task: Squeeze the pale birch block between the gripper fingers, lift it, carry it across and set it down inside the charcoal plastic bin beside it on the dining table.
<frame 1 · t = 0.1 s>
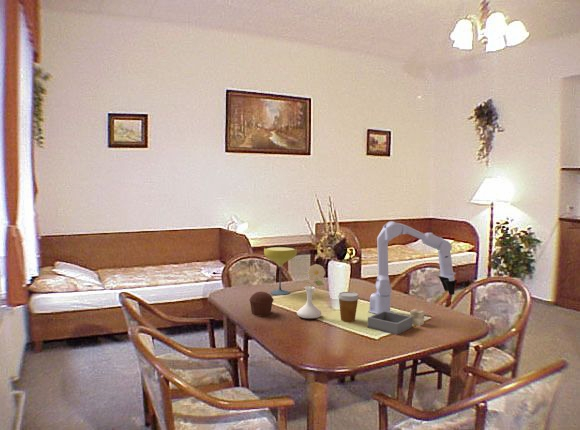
hand: (449, 292, 229), 10 cm above the table, tool pointing down, fingers open, 7 cm apart
flower in vase: (310, 317, 222), on the table
disposable coffee cup: (347, 320, 218), on the table
birch block: (416, 324, 214), on the table
muffin: (261, 313, 227), on the table
cocktail glass: (279, 293, 267), on the table
charcoal bin: (390, 327, 209), on the table
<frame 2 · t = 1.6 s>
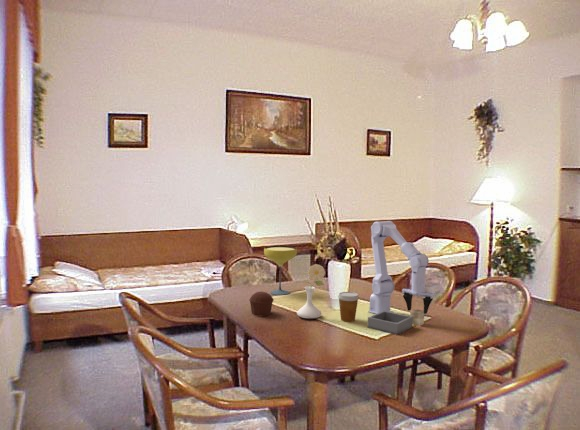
hand: (417, 311, 214), 6 cm above the table, tool pointing down, fingers open, 7 cm apart
nothing on the table moved.
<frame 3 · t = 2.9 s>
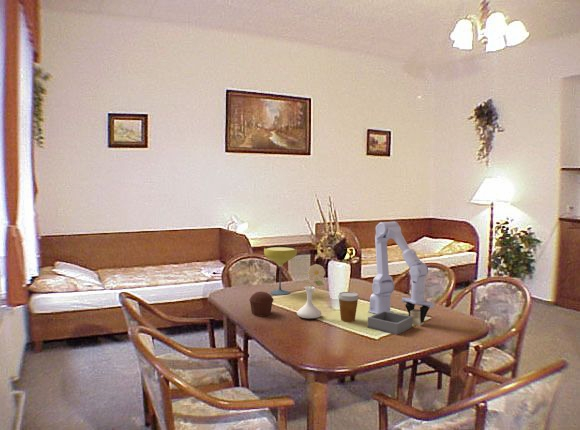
hand: (416, 320, 214), 1 cm above the table, tool pointing down, fingers closed on birch block, 4 cm apart
birch block: (416, 324, 214), on the table, touching gripper
everything else where it was.
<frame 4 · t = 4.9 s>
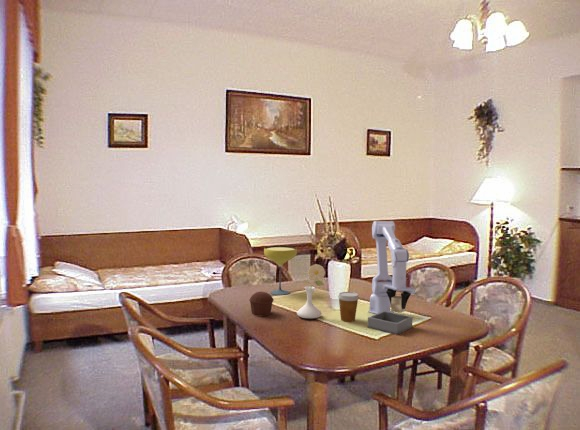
hand: (398, 307, 209), 8 cm above the table, tool pointing down, fingers closed on birch block, 4 cm apart
birch block: (398, 310, 210), point 7 cm above the table, touching gripper
everything else where it was.
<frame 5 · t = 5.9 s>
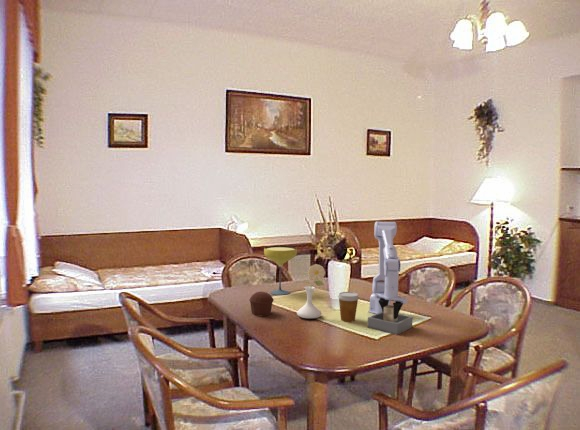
hand: (390, 317, 208), 5 cm above the table, tool pointing down, fingers closed on birch block, 4 cm apart
birch block: (390, 320, 208), point 3 cm above the table, touching gripper
everything else where it was.
when the fingers open (4 cm above the table, at t = 6.9 s): birch block drops 2 cm, resting on charcoal bin.
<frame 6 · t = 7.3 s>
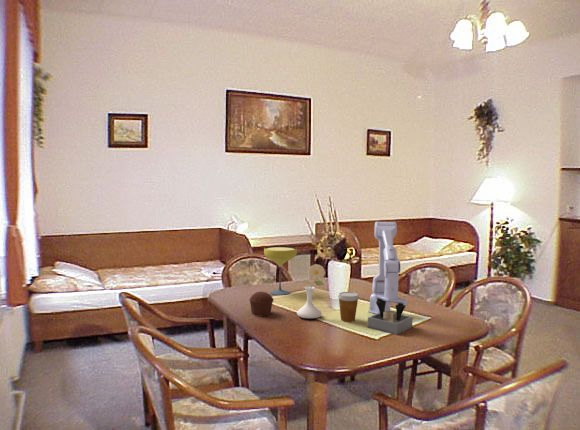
hand: (390, 318, 208), 4 cm above the table, tool pointing down, fingers open, 7 cm apart
birch block: (390, 325, 209), point 1 cm above the table, touching charcoal bin
everything else where it was.
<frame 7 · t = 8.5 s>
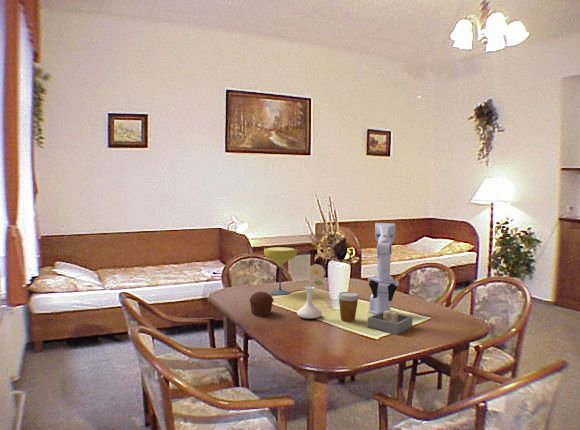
hand: (382, 299, 215), 10 cm above the table, tool pointing down, fingers open, 7 cm apart
nothing on the table moved.
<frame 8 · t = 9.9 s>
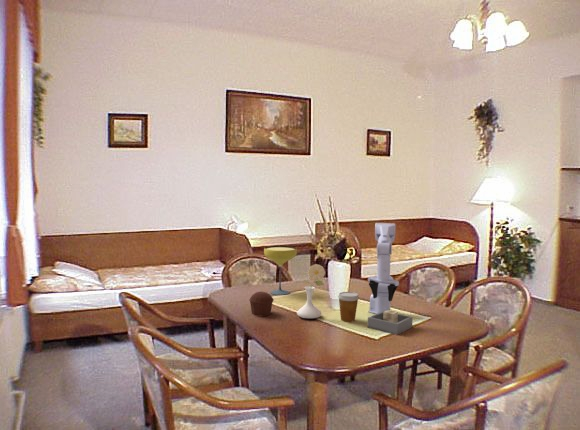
hand: (382, 299, 215), 10 cm above the table, tool pointing down, fingers open, 7 cm apart
nothing on the table moved.
at the end: birch block inside the target area on the charcoal bin (0.1 cm from its centre), point 0.8 cm above the charcoal bin's base; birch block tilted 0°; the gripper is holding nothing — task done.
